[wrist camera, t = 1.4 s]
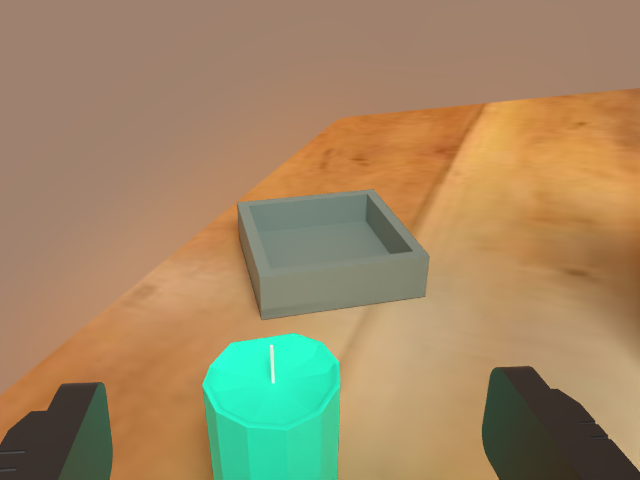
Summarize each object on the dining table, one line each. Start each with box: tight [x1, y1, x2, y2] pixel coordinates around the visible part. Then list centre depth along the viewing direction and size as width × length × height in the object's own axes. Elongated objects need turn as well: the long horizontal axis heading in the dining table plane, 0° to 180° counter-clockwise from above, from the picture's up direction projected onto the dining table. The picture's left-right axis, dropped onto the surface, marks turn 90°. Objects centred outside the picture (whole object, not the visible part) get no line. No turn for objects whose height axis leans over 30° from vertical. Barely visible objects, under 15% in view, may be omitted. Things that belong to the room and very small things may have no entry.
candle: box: [202, 333, 340, 480], centre depth 27 cm, size 6×6×12 cm
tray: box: [237, 189, 429, 320], centre depth 52 cm, size 14×14×4 cm
